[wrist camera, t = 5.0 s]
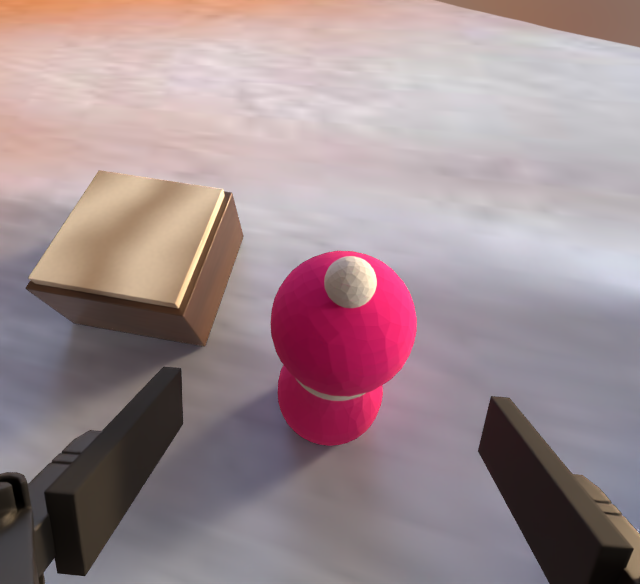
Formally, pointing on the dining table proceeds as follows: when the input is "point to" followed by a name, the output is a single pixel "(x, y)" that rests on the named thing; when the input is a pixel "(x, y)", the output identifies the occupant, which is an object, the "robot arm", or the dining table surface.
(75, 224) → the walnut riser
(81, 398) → the dining table surface
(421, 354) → the dining table surface
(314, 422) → the pepper mill
